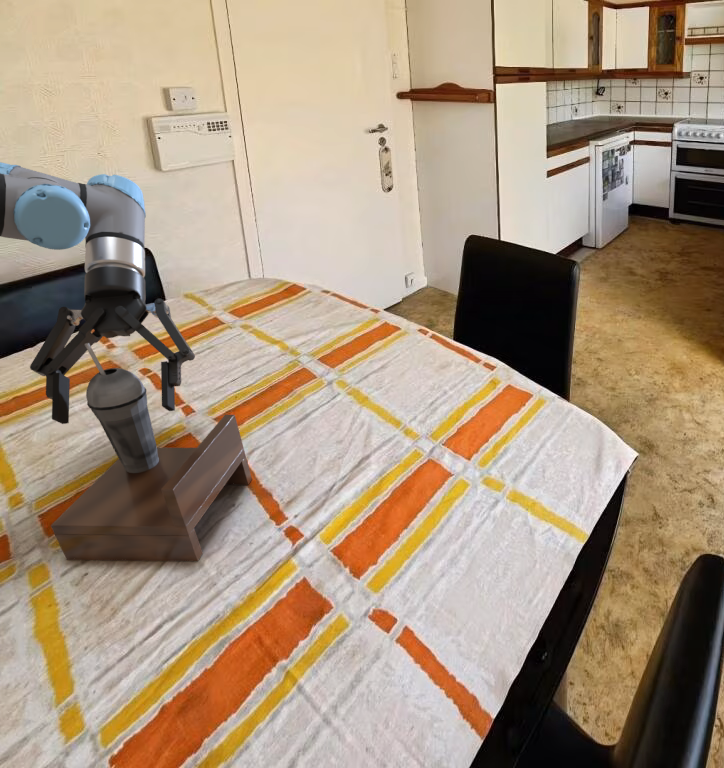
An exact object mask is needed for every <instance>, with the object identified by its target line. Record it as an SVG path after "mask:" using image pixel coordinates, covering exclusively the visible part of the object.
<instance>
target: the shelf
mask: <svg viewBox="0 0 724 768" xmlns="http://www.w3.org/2000/svg"><path fill="white" fill-rule="evenodd" d="M245 451H246V450H245V447H244V444H243V439H242V436H241V433H240V429H239V426H238V422H237V417H236V414H224V415H223V417H222V418H221V419H219V420H218V422H217V424H215V426H214V427H213V428H212V429H211V430H210V431H209V433H208V434H207V435H206V436H205V438H204V439H202V440H201V442H200V444H198V446H197V447H157V453H158V458H159V462H158V463H157V465H155V466H154V467H153V468H151V469H149V470H147V471H144V472H140V473H129V472H127V471H126V470H125V468H124V466H123V464H122V463H121V462H120V460H119V458H117V460H116V461H115V462H114V463H113V464H111V466H110V467H109V468H108V469H106V471H104V472H103V473H102V474H101V475H100V476H99V477H98V479H96V480H95V481H94V482H93V483H92V484H91V485H90V486H89V487H88V488H87V489H86V490H85V491H84V492H83V493H81V495H80V496H79V497H78V498H77V499H76V500H75V501H74V502H73V503H72V504H71V505H70V506H68V508H67V509H66V510H64V512H63V513H61V514H60V516H59V517H58V518H57V519H56V520H55V521H53V522H52V523H51V525H50V528H51V530H52V532H53V534H54V536H55V538H56V541H57V542H58V545H59V547H60V549H61V551H62V553H63V556H64V557H65V559H66V560H67V561H121V562H123V561H125V562H127V561H131V562H133V561H134V562H199V560H200V559H201V557H202V556H203V554H204V552H203V550H202V547H201V543H200V541H199V538H198V535H197V532H196V529H195V527H196V526H197V525H198V523H199V522H200V521H201V520H202V518H203V516H204V515H205V513H207V511H208V510H209V508H210V506H211V505H212V504H213V502H214V501H215V500H216V498H217V497H218V495H219V494H220V492H221V491H222V490H223V489H224V486H249V484H251V482H252V480H253V478H252V474H251V469H250V466H249V463H248V459H247V456H246V452H245Z"/></svg>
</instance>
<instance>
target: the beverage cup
mask: <svg viewBox="0 0 724 768" xmlns="http://www.w3.org/2000/svg"><path fill="white" fill-rule="evenodd" d="M85 346H86V348H87V353H89V355H90V358H91V359H92V361H93V363H94V365H95V366H96V369H97V370H98V372H96V374H94V375H93V376H92V378H91V379H90V380H89V382H88V385H87V388H86V393H85V396H86V401H87V403H86V405H87V407H88V408H89V409H90V410H91V412H92V413H93V415H94V416H95V418H96V419H98V422H99V423H100V425H101V428H102V429H103V432H104V433H105V435H106V437H107V439H108V440H109V443H110V444H111V447H112V448H113V450H114V452H115V454H116V456H117V459H119V460H120V462H121V463H122V464H123V466H124V468H125V470H126V471H127V472H129V473H140V472H144V471H147V470H149V469H151V468H153V467H154V466H155V465H157V463H158V462H159V458H158V453H157V448H158V447H157V442H156V438H155V433H154V429H153V424H152V421H151V416H150V412H149V408H148V395H147V388H146V387H145V385H144V383H143V382H142V381H141V380H140V378H139V377H138V376H137V375H136V374H135V373H133V372H132V371H130V370H126V369H125V368H120V367H111V368H106V369H104V368H103V366H102V365H101V363H100V361H99V359H98V357H97V355H96V354H95V352H94V350H93V348H92V346H90V344H89V343H86V344H85Z"/></svg>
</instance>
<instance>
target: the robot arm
mask: <svg viewBox="0 0 724 768" xmlns="http://www.w3.org/2000/svg"><path fill="white" fill-rule="evenodd" d="M146 213H147V212H146V209H145V199H144V193H143V191H142V189H141V187H140V186H139V185H138V184H137V183H136V182H134V181H133V180H131V179H130V178H127V177H125V176H122V175H118V174H112V175H108V174H105V173H101V174H97V175H94V176H92V177H90V178H89V179H88V180H87V182H86V183H81V182H76V181H73V180H68V179H65V178H62V177H58V176H54V175H51V174H47V173H43V172H40V171H37V170H33V169H30V168H26V167H24V166H23V167H22V166H21V165H18V164H10V163H6V162H1V161H0V237H1V238H7V239H12V240H21V241H28V242H30V243H31V244H34V245H36V246H39V247H41V248H44V249H48V250H54V251H55V250H56V251H62V250H68V249H71V248H74V247H76V246H78V245H79V244H80V243H82V242H83V241H85V252H84V253H85V254H84V272H85V274H84V291H83V292H84V293H83V295H84V305H83V307H82V309H70V308H68V307H67V306H61V307H60V308H59V309H58V312H57V318H56V321H55V323H54V325H53V327H52V329H51V330H50V332H49V334H48V335H47V337H46V338H45V340H44V342H43V344H42V345H41V347H40V349H39V350H38V352H37V354H36V355H35V357H34V359H33V360H32V362H31V363H30V366H29V369H30V370H31V371H33V372H35V373H36V374H38V375H40V376H42V377H45V395H46V398H48V399H50V400H52V402H51V420H52V421H54V422H57V423H59V424H62V425H66V424H67V425H68V424H69V423H70V389H71V388H70V384H71V379H70V378H69V377H67V375H66V374H67V373H68V372H69V371H70V370H71V368H73V367H74V366H75V364H77V362H79V360H80V359H81V358H82V357H83V356H84V355H85V353H87V352H88V350H87V348H86V346H85V344H86V343H89V344H90V346H91V347H92V346H93V345H94V344H97V343H99V341H100V340H101V339H103V337H104V338H106V339H112V338H113V339H114V338H117V337H131V335H132V334H134V333H135V332H136V333H138V335H140V336H141V337H142V338H143V339H144V340H146V342H148V343H149V344H150V345H151V346H152V347H153V348H154V349H156V351H157V352H159V353H160V354H161V355H162V356H163V357H164V358H166V359H167V361H161V362H160V377H161V381H160V382H161V383H160V384H161V407H162V408H164V409H165V410H166V411H168V412H174V411H176V400H175V399H176V397H175V387H180V386H181V384H182V365H183V364H184V363H186V362H188V361H189V362H191V361H194V360H195V359H196V355H195V353H194V352H193V350H192V348H191V347H190V345H189V344H188V342H187V340H186V339H185V337H184V336H183V335H182V332H181V331H180V330H179V328H178V326H177V325H176V324H175V322H174V320H173V319H172V316H171V315H172V314H171V309H170V306H169V305H168V304H167V302H165V301H164V299H162V298H156V299H154V302H151V303H147V304H146V300H147V299H146V298H147V297H146V296H147V295H146V279H145V277H146V250H145V247H146V246H145V235H146V233H145V232H146V216H147V215H146ZM149 314H151V315H153V316H154V317H155V318H157V319H158V320H159V321H160V323H161V325H162V326H163V328H164V329H165V331H166V333H167V334H168V335H169V337H170V339H171V340H172V342H173V343H174V345H175V347H176V348H177V350H178V351H176V352H174V351H172V350H171V349H170V348H169V347H168V346H167V345H166V344H164V342H162V341H161V340H160V339H159V338H158V337H157V336H156V335H154V334H153V332H151V331H150V330H149V329H148V328H147V327H146V326H145V325H143V322H144V321H145V320H146V318H147V317H148V316H149ZM81 320H84V321H85V322H84V323H83V324H82V325H81V326H79V325H80V322H81ZM76 326H79V328H78V332H77V333H76V335H75V336H73V333H74V332H75V329H76ZM92 331H93V332H92ZM72 336H73V338H72V339H71V337H72ZM70 339H71V340H70ZM69 340H70V341H69Z"/></svg>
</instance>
